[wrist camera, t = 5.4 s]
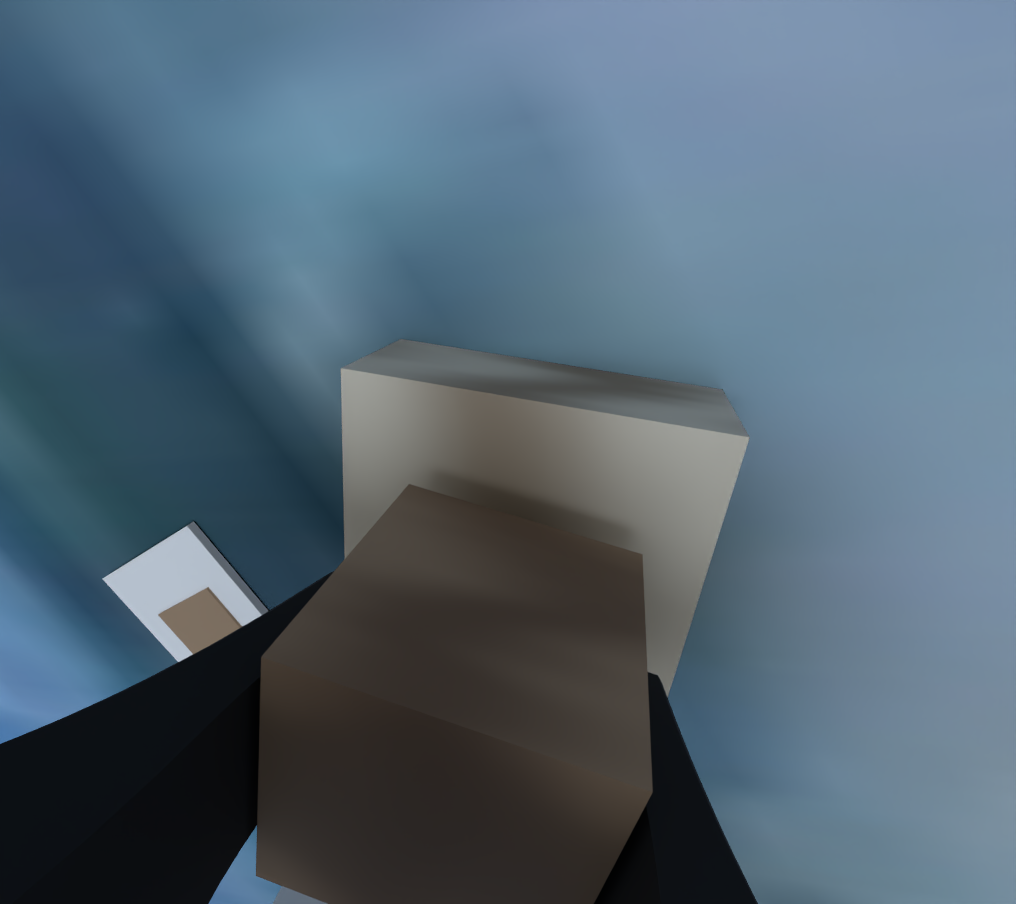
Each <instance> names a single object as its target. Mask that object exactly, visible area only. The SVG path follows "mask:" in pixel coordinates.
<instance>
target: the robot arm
mask: <svg viewBox="0 0 1016 904" xmlns="http://www.w3.org/2000/svg"><path fill="white" fill-rule="evenodd" d="M333 572H334V571H333ZM333 572H331V573H329V574H328V575H326V576H324V577H323V578H321V579H320V580H318V581H316V582H315V583H313V584H311V585H310V586H308V587H307V588H305V589H303V590H302V591H300V592H299V593H297V594H295V595H294V596H292V597H291V598H289V599H287V600H286V601H284V602H283V603H281V604H279V605H278V606H276V607H274V608H273V609H271V610H269V611H268V612H266V613H265V614H263V615H261V616H260V617H258V618H256V619H254V620H253V621H251V622H249V623H248V624H246V625H244V626H242V627H241V628H239V629H237V630H236V631H234V632H232V633H230V634H229V635H227V636H225V637H224V638H222V639H220V640H218V641H217V642H215V643H213V644H211V645H210V646H208V647H206V648H204V649H202V650H200V651H198V652H197V653H195V654H193V655H191V656H189V657H187V658H185V659H183V660H181V661H180V662H178V663H176V664H174V665H172V666H170V667H168V668H166V669H165V670H163V671H161V672H159V673H157V674H155V675H153V676H151V677H149V678H147V679H145V680H143V681H141V682H139V683H137V684H135V685H133V686H131V687H129V688H127V689H125V690H123V691H121V692H119V693H117V694H115V695H112V696H110V697H108V698H106V699H104V700H102V701H100V702H97V703H95V704H93V705H91V706H89V707H86V708H84V709H82V710H80V711H78V712H76V713H73V714H71V715H69V716H67V717H64V718H62V719H60V720H57V721H55V722H53V723H50V724H48V725H45V726H43V727H41V728H38V729H36V730H34V731H31V732H29V733H26V734H24V735H22V736H19V737H17V738H14V739H12V740H9V741H7V742H4V743H2V744H0V904H208V903H209V901H210V900H211V898H212V896H213V894H214V892H215V891H216V889H217V887H218V885H219V884H220V882H221V880H222V879H223V877H224V875H225V874H226V872H227V871H228V869H229V867H230V866H231V864H232V862H233V861H234V859H235V858H236V856H237V854H238V853H239V851H240V850H241V848H242V847H243V845H244V844H245V842H246V841H247V839H248V838H249V836H250V835H251V833H252V832H253V830H254V829H255V827H256V826H257V811H258V769H259V727H260V685H261V657H262V655H263V654H264V653H265V652H266V651H267V650H268V648H269V647H270V646H271V645H272V644H273V643H274V641H275V640H276V639H277V638H278V637H279V636H280V634H281V633H282V632H283V631H284V630H285V628H286V627H287V626H288V625H289V624H290V623H291V621H292V620H293V619H294V618H295V617H296V616H297V614H298V613H299V612H300V611H301V610H302V609H303V607H304V606H305V605H306V604H307V603H308V602H309V600H310V599H311V598H312V597H313V596H314V595H315V593H316V592H317V591H318V590H319V589H320V588H321V586H322V585H323V584H324V583H325V582H326V581H327V579H328V578H329V577H330V576H331V575H332V573H333ZM648 694H649V717H650V741H651V764H652V787H653V793H652V795H651V796H650V798H649V800H648V802H647V804H646V806H645V808H644V810H643V812H642V813H641V815H640V817H639V819H638V821H637V823H636V825H635V827H634V829H633V830H632V832H631V834H630V836H629V838H628V840H627V842H626V844H625V846H624V847H623V849H622V851H621V853H620V855H619V857H618V859H617V861H616V863H615V865H614V866H613V868H612V870H611V872H610V874H609V876H608V878H607V880H606V882H605V883H604V885H603V887H602V889H601V891H600V893H599V895H598V897H597V899H596V900H595V902H594V904H758V903H757V901H756V899H755V897H754V895H753V893H752V891H751V889H750V887H749V885H748V883H747V881H746V879H745V877H744V875H743V873H742V871H741V869H740V866H739V864H738V862H737V860H736V858H735V856H734V854H733V852H732V850H731V848H730V846H729V844H728V841H727V839H726V837H725V835H724V833H723V831H722V829H721V826H720V824H719V822H718V820H717V817H716V815H715V813H714V811H713V808H712V806H711V804H710V801H709V799H708V797H707V795H706V792H705V790H704V788H703V786H702V783H701V781H700V779H699V776H698V774H697V772H696V769H695V767H694V764H693V762H692V760H691V757H690V755H689V752H688V750H687V747H686V745H685V742H684V740H683V737H682V735H681V732H680V730H679V727H678V724H677V722H676V719H675V717H674V714H673V711H672V709H671V706H670V703H669V700H668V698H667V695H666V692H665V690H664V687H663V684H662V682H661V680H660V678H659V676H658V675H656V674H653V673H650V672H648Z"/></svg>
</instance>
